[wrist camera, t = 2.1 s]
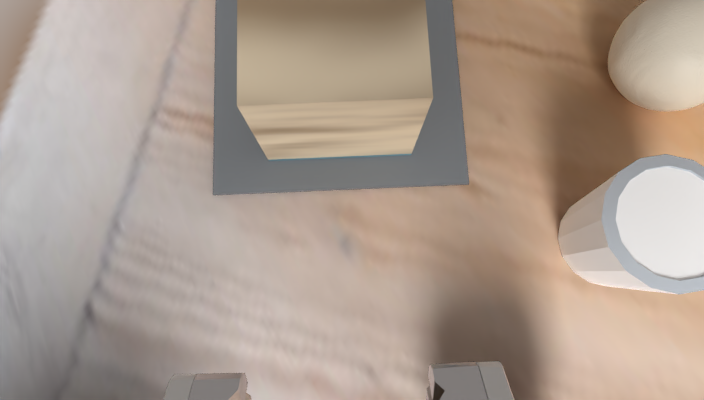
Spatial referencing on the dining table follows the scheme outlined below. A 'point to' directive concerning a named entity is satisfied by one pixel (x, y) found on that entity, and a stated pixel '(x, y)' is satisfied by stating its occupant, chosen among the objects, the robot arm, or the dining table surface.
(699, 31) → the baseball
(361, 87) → the maple cube
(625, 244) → the white cylindrical piece
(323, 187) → the charcoal mat
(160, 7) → the dining table surface
